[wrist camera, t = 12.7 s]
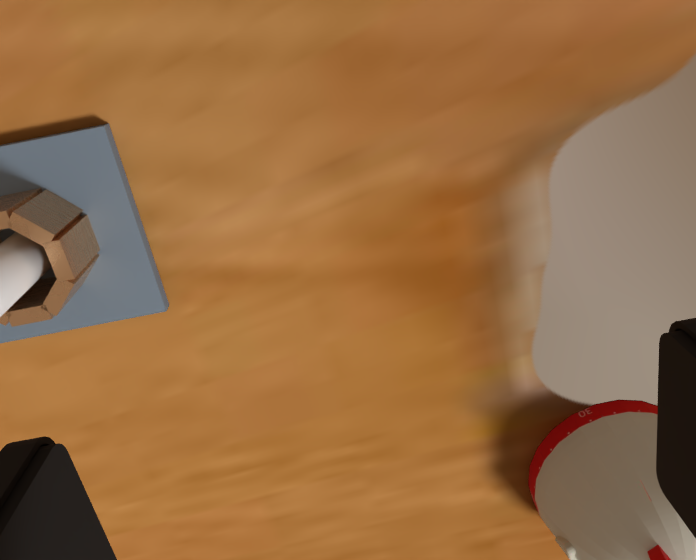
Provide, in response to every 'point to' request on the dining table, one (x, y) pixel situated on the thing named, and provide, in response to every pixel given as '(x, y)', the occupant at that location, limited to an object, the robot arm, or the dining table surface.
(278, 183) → the dining table surface
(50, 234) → the ring
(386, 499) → the dining table surface
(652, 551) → the kitchen timer
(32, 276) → the piston stand
